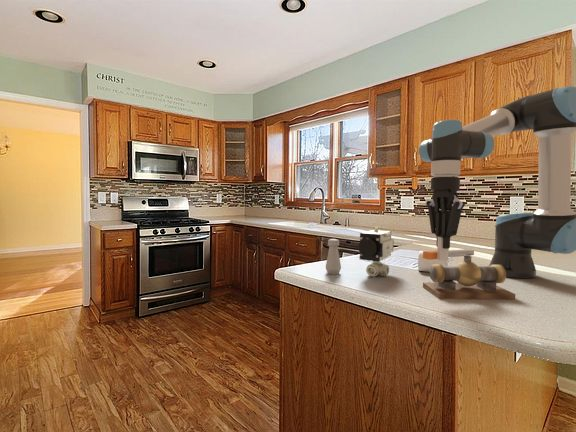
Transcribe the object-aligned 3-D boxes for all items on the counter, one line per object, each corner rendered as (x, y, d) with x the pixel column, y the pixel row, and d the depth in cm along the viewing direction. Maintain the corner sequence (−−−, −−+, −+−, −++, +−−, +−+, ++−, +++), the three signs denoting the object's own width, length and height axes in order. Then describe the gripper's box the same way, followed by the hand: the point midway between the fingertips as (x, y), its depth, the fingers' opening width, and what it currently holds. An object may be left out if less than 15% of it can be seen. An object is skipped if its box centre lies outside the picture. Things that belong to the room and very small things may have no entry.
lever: (467, 254, 106) (467, 248, 106) (476, 256, 103) (476, 249, 103) (422, 257, 100) (422, 251, 100) (430, 259, 97) (430, 252, 97)
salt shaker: (343, 273, 130) (344, 239, 129) (335, 276, 125) (335, 240, 125) (331, 271, 134) (331, 237, 133) (322, 273, 129) (322, 239, 129)
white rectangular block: (446, 275, 127) (446, 254, 127) (417, 272, 132) (418, 252, 131) (448, 269, 138) (448, 250, 137) (421, 267, 142) (422, 248, 142)
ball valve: (380, 281, 117) (381, 230, 116) (356, 278, 122) (357, 228, 121) (395, 272, 132) (396, 226, 131) (373, 269, 137) (374, 225, 136)
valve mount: (491, 287, 111) (492, 253, 110) (515, 299, 99) (517, 260, 98) (422, 287, 111) (423, 252, 110) (438, 298, 99) (439, 259, 98)
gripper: (474, 175, 92) (471, 263, 93) (440, 178, 104) (437, 255, 105) (451, 174, 89) (448, 264, 91) (419, 177, 102) (416, 256, 103)
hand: (442, 259), depth 98 cm, fingers closed
